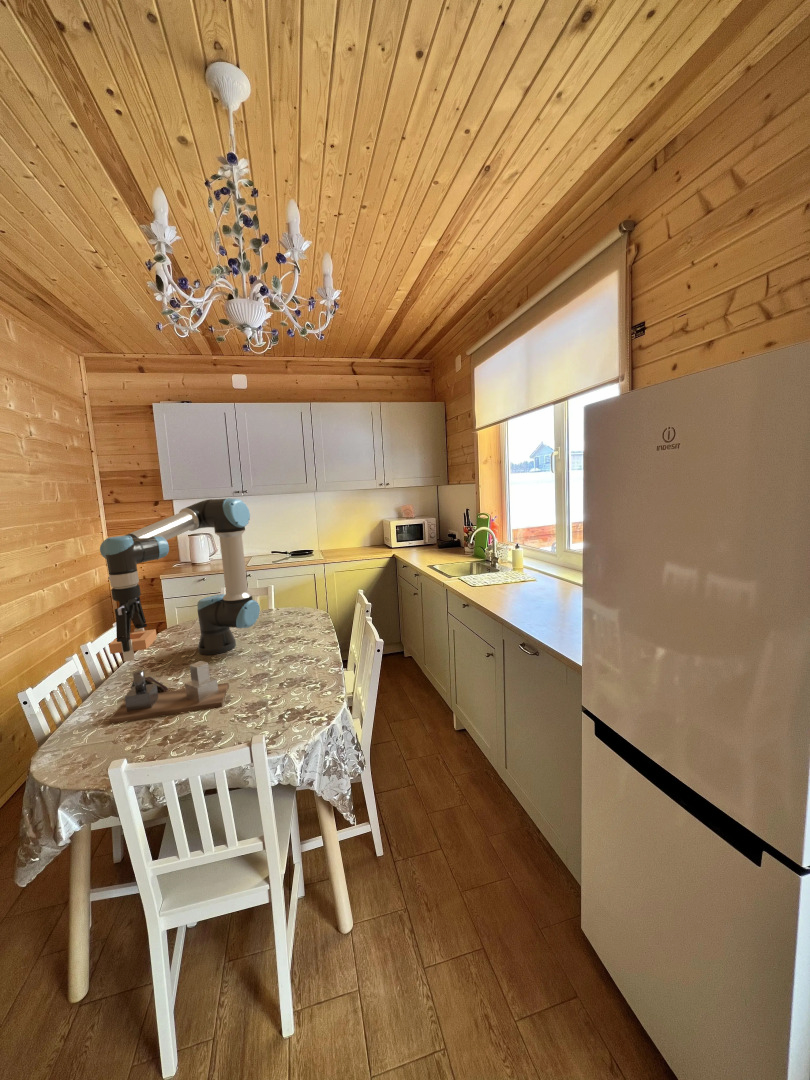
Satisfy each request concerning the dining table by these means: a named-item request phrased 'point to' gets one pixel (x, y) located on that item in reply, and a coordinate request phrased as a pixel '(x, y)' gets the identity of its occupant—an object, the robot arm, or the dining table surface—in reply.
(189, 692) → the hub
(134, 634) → the collar
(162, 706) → the board
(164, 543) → the robot arm
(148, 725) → the dining table surface
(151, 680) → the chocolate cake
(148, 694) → the stand
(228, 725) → the dining table surface
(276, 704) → the dining table surface
